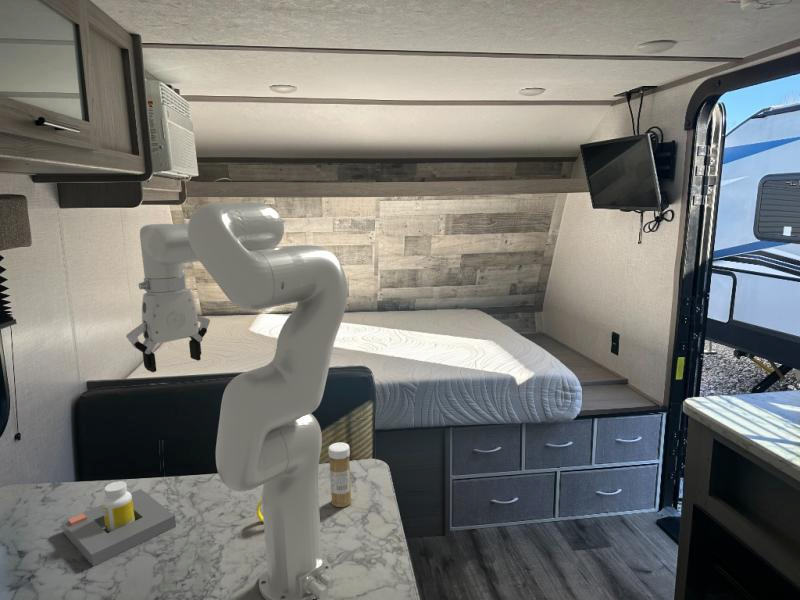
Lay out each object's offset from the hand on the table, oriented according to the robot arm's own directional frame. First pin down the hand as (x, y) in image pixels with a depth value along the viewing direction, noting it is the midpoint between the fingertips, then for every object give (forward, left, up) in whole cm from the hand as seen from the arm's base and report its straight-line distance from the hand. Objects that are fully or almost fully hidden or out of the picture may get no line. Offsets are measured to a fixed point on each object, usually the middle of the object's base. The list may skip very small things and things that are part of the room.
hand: (174, 364), depth 115 cm
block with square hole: (+2, +14, -32) cm, 35 cm away
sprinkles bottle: (-26, -22, -32) cm, 47 cm away
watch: (-20, -8, -33) cm, 39 cm away
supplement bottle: (+2, +14, -32) cm, 35 cm away
